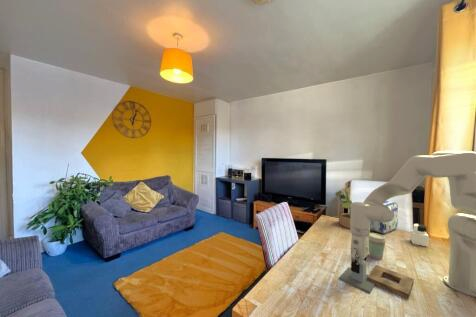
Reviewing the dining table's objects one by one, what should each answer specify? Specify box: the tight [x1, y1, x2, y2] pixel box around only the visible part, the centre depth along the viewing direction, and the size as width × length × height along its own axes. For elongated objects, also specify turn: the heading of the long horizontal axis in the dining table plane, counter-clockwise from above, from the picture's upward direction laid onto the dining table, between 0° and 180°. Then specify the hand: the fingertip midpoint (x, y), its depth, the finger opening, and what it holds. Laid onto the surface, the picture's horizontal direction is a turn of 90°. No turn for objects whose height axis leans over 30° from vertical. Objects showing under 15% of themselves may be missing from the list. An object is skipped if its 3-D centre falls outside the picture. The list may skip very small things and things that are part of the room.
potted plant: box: [334, 188, 353, 230], centre depth 150 cm, size 22×18×30 cm
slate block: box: [351, 258, 367, 283], centre depth 88 cm, size 4×4×8 cm
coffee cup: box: [368, 232, 387, 261], centre depth 107 cm, size 8×9×12 cm
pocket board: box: [367, 264, 415, 300], centre depth 86 cm, size 14×14×2 cm
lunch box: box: [370, 200, 399, 235], centre depth 143 cm, size 28×10×22 cm, turn 122°
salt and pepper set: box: [410, 223, 430, 248], centre depth 123 cm, size 7×7×12 cm
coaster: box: [338, 266, 376, 294], centre depth 88 cm, size 12×12×1 cm
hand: (358, 267), depth 88 cm, fingers open, 8 cm apart
